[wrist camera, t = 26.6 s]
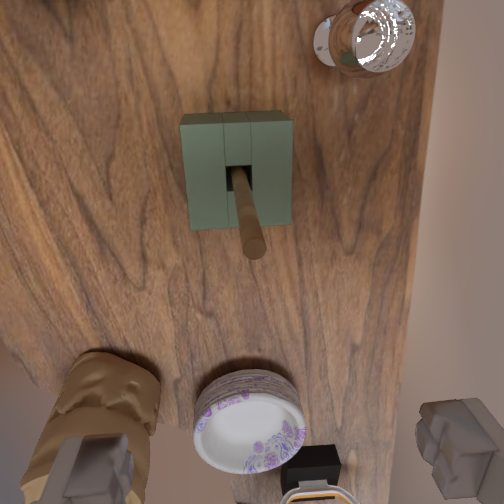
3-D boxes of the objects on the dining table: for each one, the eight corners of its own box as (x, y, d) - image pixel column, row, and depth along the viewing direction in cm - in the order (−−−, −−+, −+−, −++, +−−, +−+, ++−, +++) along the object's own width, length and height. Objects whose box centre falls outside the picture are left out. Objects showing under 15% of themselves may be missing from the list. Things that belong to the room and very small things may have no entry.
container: (85, 415, 57) (37, 554, 41) (58, 350, 52) (-12, 482, 36) (170, 403, 58) (154, 536, 42) (152, 337, 52) (125, 462, 36)
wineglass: (318, -3, 36) (362, -26, 26) (373, 17, 37) (437, 3, 27) (298, 63, 39) (331, 67, 28) (351, 80, 40) (401, 90, 29)
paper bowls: (220, 340, 53) (222, 384, 46) (314, 371, 58) (328, 415, 51) (179, 413, 59) (174, 462, 52) (267, 437, 63) (274, 484, 56)
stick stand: (281, 110, 40) (293, 120, 34) (280, 201, 45) (291, 224, 39) (184, 114, 40) (179, 124, 34) (193, 206, 44) (190, 230, 38)
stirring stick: (241, 153, 42) (266, 238, 23) (242, 165, 43) (266, 259, 23) (228, 153, 42) (242, 239, 22) (229, 166, 43) (243, 260, 23)
